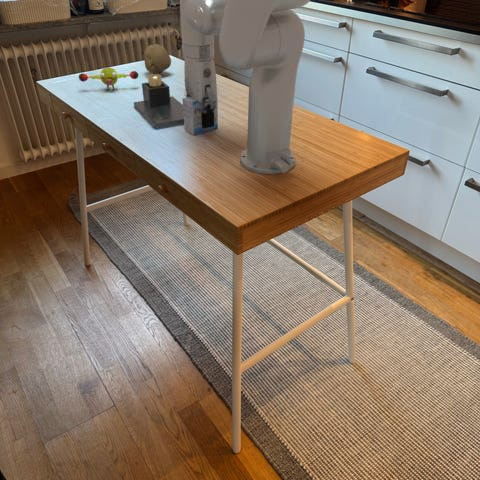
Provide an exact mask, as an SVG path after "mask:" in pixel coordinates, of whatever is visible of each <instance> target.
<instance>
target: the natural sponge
mask: <svg viewBox="0 0 480 480" xmlns="http://www.w3.org/2000/svg"><path fill="white" fill-rule="evenodd" d="M143 60H144V67H145V69H146V71H147V72H149V73H151V74H159V75H161V74H163V72H164V71H166V70H168V69H169V68H170V67H171V65H172V59H171V56H170V54H169V52H168V51H167V49H165V47H164V46H163V45H160V44H158V43H154V44H150V45H148V46H147V47H146V48H145V50H144V51H143Z"/></svg>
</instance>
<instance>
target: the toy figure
mask: <svg viewBox="0 0 480 480" xmlns="http://www.w3.org/2000/svg"><path fill="white" fill-rule="evenodd" d="M127 77H130V78H131V79H132V80H137V79H138V77H139V73H138V72H137V71H136V70H132V71H131V72H130V73H129V74H126V73H122V74H120V73H117V72H116V70H115V69H113V68H111V67H105V68H103V69H102V70H101V71H100V74H97V75H94V74H93V75H91V76H88V74H86V73H84V72H83V73H80V74H79V75H78V80H79V81H81V83H82V82H87V80H88V79H92V80H96V79H97V80H101V82H102V83H103V84H104V85H106V90H107V91H110V86H112V87H111V88H112V91H115V84H116V83H117V82H118V80H119V79H121V78H124V79H125V78H127Z"/></svg>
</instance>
